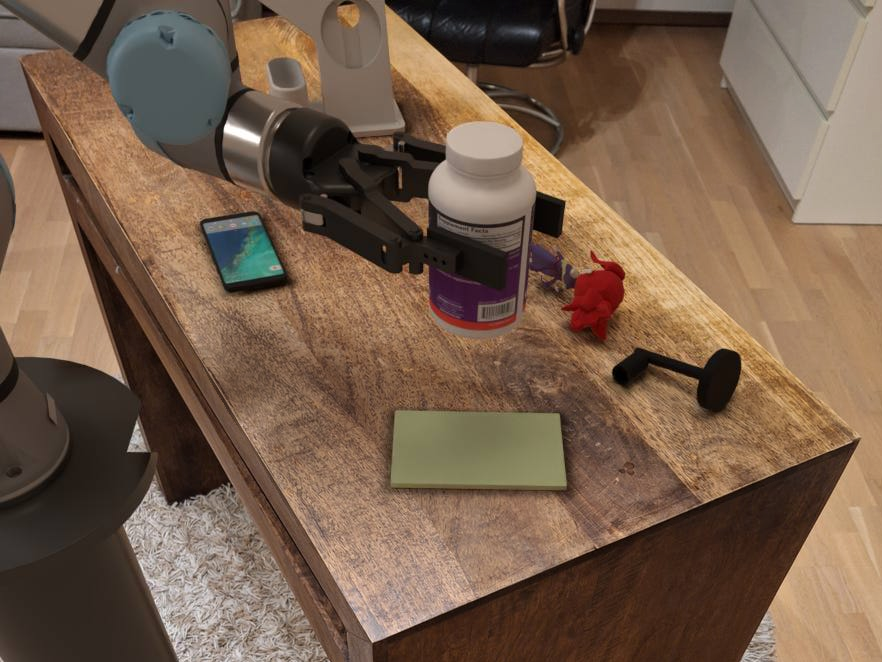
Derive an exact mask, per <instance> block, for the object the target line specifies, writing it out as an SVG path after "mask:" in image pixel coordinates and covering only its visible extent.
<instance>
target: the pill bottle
mask: <svg viewBox="0 0 882 662" xmlns="http://www.w3.org/2000/svg"><path fill="white" fill-rule="evenodd" d="M445 146H446V160H445V161H443V162H442V163H441V164H440V165H438V166H437V168H436V169H435V170H434V172H433V173H432V175H431V177H430V181H429V186H428V199H427V202H428V204H427V205H428V207H427V208H428V209H427V210H428V211H427V212H428V217H427V219H428V227H429V226H431V225H432V224H433V225H436V226H439V227H441V228H444V229H447V230H449V231H452V232H454V233H457V234H460V235H463V236H465V237H468V238H470V239H473V240H476V241H478V242H481V243H484V244H486V245H489V246H492V247H494V248H497V249H500V250H502V251H505V252H508V261H507V275H506V287H505V288H504V289H503V290H502V291H498V290H495V289H493V288H490V287H488V286H485V285H483V284H480V283H478V282H475V281H472V280H470V279H467V278H465V277H462V276H460V275H457V274H450V273H446V272H444V271H442V270H439V269H437V268H434V267H431V266H428V308H429V312H430V315H431V317H432V319H433V320H434V322H435V323H436V324H437V325H438V326H439V327H440V328H441V329H443V331H446V332H447V333H449V334H451V335H454V336H457V337H458V338H459V337H460V338H464V339H467V340H492V339H497V338H500V337H503V336H505V335H507V334H509V333H510V332H512V331H513V330H515V328H517V327H518V326H519V325H520V324H521V322H522V320H523V319H524V316H525V313H526V308H527V297H528V285H529V274H530V269H529V265H530V257H531V255H532V252H531V243H533V232H534V230H533V222H534V212H535V201H536V191H537V185H536V181H535V179H534V177H533V174H532V173H531V172H530V171H529V169H528V168H526V166H525V165H523V164H522V161H523V156H524V154H523V153H524V139H523V137H522V135H521V134H520V133H519V132H518V131H517V130H516V129H514V128H512V127H510V126H509V125H506V124H503V123H500V122H495V121H484V120H483V121H482V120H481V121H480V120H478V121H475V120H474V121H469V122H463V123H460V124H459V125H456V126H454V127H453V128H451V129H450V130H449V131H448V132H447V135H446V137H445Z"/></svg>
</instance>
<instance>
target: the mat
mask: <svg viewBox="0 0 882 662" xmlns="http://www.w3.org/2000/svg"><path fill="white" fill-rule="evenodd" d="M393 420H394V422H393V423H394V424H393V436H392V437H393V438H392V453H391V466H390V467H391V469H390V470H391V471H390V488H396V489H397V488H398V489H399V488H400V489H456V490H458V489H459V490H511V491H512V490H513V491H514V490H515V491H516V490H521V491H567V487H568V483H567V475H566V473H567V472H566V463H565V455H564V454H565V453H564V443H563V433H562V423H561V414H560V413H555V412H554V413H552V412H509V411H507V412H505V411H503V412H502V411H456V410H455V411H454V410H409V409H408V410H406V409H405V410H404V409H403V410H401V409H400V410H399V409H396V410H394V419H393Z"/></svg>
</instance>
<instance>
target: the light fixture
mask: <svg viewBox="0 0 882 662" xmlns="http://www.w3.org/2000/svg"><path fill="white" fill-rule="evenodd" d="M742 364H743V363H742V358H741V355H740V354H739V352H737V351H736V350H732V349H729V348H724V347H722V348H719V349H718V350H715V352H713V353H712V354H711V356H710V357H709V358H708V360H706V363H704V366H703V367H700V366H696V365H694V364H692V363H691V364H690V363H688V362H684V361H681V360H679V359H675V358H673V357H669V356H666V355H664V354H660V353H657V352H654V351H651V350H648V349H646V348H642V347H638V346H637V347H636V348H635V349H634V350H633V352H632V353H630V354H629V355H628V356H627V357H625V358H624V359H622V360H621V361H620V362H618V363H617V364H616V365H614V366H613V367H612V369H611V376H612V378H611V379H613V382H612V384H614V383H616V384H618V385H619V386H621V387H626V386H628V385H629V384H630V383H631V382H633V381H634V380H635V379H636V378H638V377H639V376H641V375H642V374H643V373H645V372H646V371H648V369H649V365H653V366H655V367H658V368H661V369H665V370H666V371H667V370H668V371H671V372H673V373H677V374H679V375H682V376H685V377H689V378H691V379H695V380H697V381H698V382H697V387H696V401H697V404H698V406H699V407H700V408H702V409H703V410H706V411H708V412H712V413H716V412H719V411H721V410H722V409H723V408H724V407H725V406H726V405H727V404H728V403H729V402H730V400H731V398H733V395H734V393H735V391H736V389H737V387H738V384H739V381H740V379H741V378H740V377H741V373H742ZM611 379H610V380H611ZM607 382H609V380H607V381H606V383H607ZM597 390H598V389H595V391H597ZM593 392H594V391H593ZM593 392H592V393H593ZM592 393H590V395H593V394H592ZM588 399H589V400H593V398H591V397H588Z"/></svg>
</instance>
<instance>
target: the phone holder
mask: <svg viewBox="0 0 882 662" xmlns="http://www.w3.org/2000/svg"><path fill="white" fill-rule="evenodd" d="M348 1H349V2H351V3H353V4H354V5H355V6H356V8H357V10H358V13H359V17H358V21H357V22H356V24H355V25H354V26H352V27H346V26H345V25H343V24H342V23H341V22H340V19H339V17H338V9H339V6H340V5H341V4H342V3H344V2H348ZM258 2H260V3H261V4H263V5H264V6H265V7H267V8H268V9H270V10H271V11H273V12H274V13H276V14H277V15H279V16H280V17H281V18H282V19H284V20H285V21H287V23H289V24H290V25H292V26H294V27H295V28H297V29H298V30H299V31H301V32H302V33H304V34H305V35H307V36H308V37H310V39H311V40H312V41H313V43H314V44H315V51H316V57H317V66H318V74H319V81H320V90H321V97H322V99H316V100H315V99H314V100H309V94H308V93H309V92H308V85H307V80H306V77H305V74H304V71H303V67H302V64H301V63H300V61H299V60H297V59H295V58H292V57H287V56H286V57H284V56H282V57H275V58H272V59H270V60H269V61H267V62H266V64H265V72H266V78H267V79H266V80H267V85H268V92H269V93H268V94H269V95H272V96H275V97H278V98H281V99H284V100H288V101H291V102H294V103H297V104H300V105H302V106H303V107H305V108H310V109H313V110H316V111H319V112H321V113H324V114H327V115H330V116H333V117H336V118H338V119H340V120H342V121H343V122H344V123H345V124H346V125H347V126H348V127H349V129H350V130H351V132H352V134H353V135H354V136H355V138H356V139H358V138H368V137H379V136H380V137H381V136H393V133H394V132H397V131H402V132H406V122H405V120H404V117H403V115H402V112H401V110H400V108H399V106H398V104H397V101H396V99H395V97H394V91H393V78H392V70H391V57H390V48H389V47H390V46H389V35H388V24H387V12H386V1H385V0H258Z"/></svg>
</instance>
